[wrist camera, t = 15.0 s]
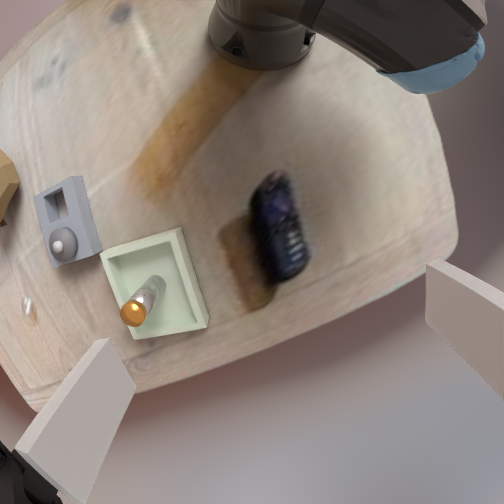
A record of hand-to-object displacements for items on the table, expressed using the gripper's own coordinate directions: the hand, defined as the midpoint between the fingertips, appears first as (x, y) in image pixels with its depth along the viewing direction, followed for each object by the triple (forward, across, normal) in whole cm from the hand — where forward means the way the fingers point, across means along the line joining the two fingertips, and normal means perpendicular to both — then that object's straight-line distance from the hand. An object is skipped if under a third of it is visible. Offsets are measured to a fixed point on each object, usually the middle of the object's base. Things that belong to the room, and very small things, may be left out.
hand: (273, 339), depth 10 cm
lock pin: (+28, -16, -5) cm, 33 cm away
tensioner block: (+29, -28, +8) cm, 41 cm away
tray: (+29, -16, -5) cm, 33 cm away
